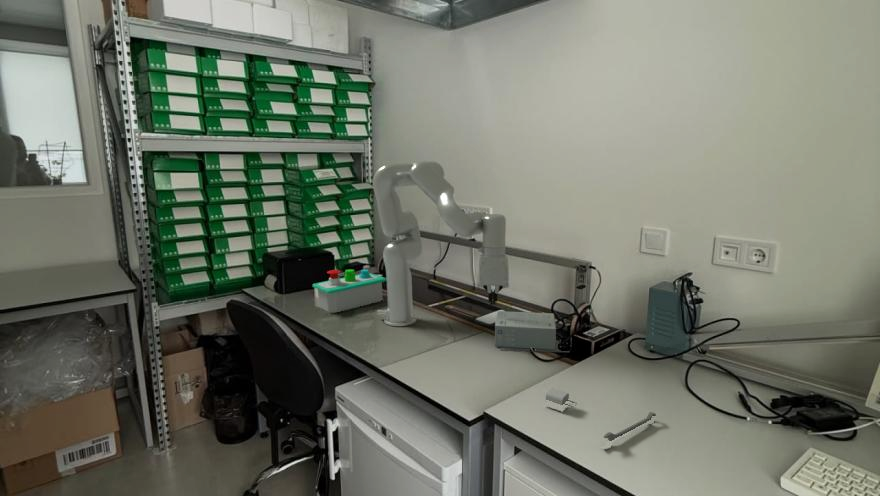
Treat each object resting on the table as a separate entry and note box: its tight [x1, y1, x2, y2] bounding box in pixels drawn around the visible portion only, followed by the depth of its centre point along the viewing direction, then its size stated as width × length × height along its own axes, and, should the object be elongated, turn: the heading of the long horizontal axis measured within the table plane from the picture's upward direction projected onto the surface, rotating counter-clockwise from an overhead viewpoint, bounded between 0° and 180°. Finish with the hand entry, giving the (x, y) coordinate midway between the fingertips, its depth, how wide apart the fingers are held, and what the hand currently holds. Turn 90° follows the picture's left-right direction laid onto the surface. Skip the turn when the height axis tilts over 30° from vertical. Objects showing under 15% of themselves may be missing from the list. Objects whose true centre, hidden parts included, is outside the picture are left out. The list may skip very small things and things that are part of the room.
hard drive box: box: [494, 310, 557, 350], centre depth 159 cm, size 16×8×20 cm
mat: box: [499, 340, 570, 353], centre depth 161 cm, size 22×20×1 cm
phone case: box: [474, 309, 506, 328], centre depth 181 cm, size 9×2×16 cm
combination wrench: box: [603, 411, 657, 441], centre depth 105 cm, size 4×1×20 cm
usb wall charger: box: [545, 387, 578, 408], centre depth 116 cm, size 4×7×4 cm, turn 51°
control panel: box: [312, 268, 387, 314], centre depth 201 cm, size 15×17×30 cm
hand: (492, 303), depth 160 cm, fingers closed
